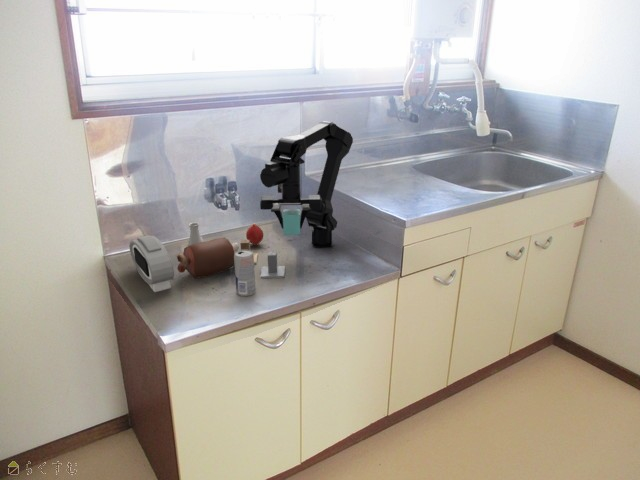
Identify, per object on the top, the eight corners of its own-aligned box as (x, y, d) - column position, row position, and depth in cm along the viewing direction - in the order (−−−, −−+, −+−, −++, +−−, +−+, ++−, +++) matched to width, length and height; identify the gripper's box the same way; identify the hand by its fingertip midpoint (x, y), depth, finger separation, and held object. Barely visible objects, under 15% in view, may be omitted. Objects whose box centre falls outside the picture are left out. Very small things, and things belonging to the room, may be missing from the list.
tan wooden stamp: (257, 255, 171) (256, 237, 168) (256, 264, 164) (255, 245, 162) (236, 255, 170) (235, 237, 168) (234, 264, 164) (232, 245, 162)
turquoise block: (300, 228, 167) (299, 209, 164) (300, 234, 162) (299, 214, 159) (283, 229, 166) (283, 209, 164) (283, 235, 162) (282, 215, 159)
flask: (202, 257, 169) (199, 228, 166) (181, 255, 171) (178, 227, 167) (211, 248, 176) (208, 221, 172) (191, 247, 177) (188, 219, 173)
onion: (244, 243, 180) (243, 221, 177) (260, 240, 182) (259, 219, 179) (249, 249, 175) (248, 227, 172) (266, 246, 177) (265, 224, 174)
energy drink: (246, 285, 151) (244, 247, 146) (259, 291, 147) (257, 252, 143) (232, 292, 147) (229, 253, 142) (245, 298, 144) (243, 258, 139)
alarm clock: (132, 267, 162) (126, 229, 157) (152, 263, 165) (146, 225, 161) (155, 297, 144) (149, 255, 139) (176, 291, 147) (171, 250, 143)
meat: (230, 259, 169) (228, 229, 165) (248, 271, 160) (247, 240, 156) (171, 275, 157) (167, 243, 153) (187, 289, 149) (184, 256, 145)
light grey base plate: (284, 267, 162) (284, 248, 159) (284, 277, 155) (283, 258, 153) (262, 268, 162) (261, 249, 159) (260, 278, 155) (259, 258, 153)
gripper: (320, 172, 166) (320, 219, 172) (261, 173, 165) (263, 220, 171) (322, 182, 155) (322, 231, 161) (259, 183, 155) (261, 232, 161)
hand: (291, 228), depth 164 cm, fingers closed on turquoise block, 5 cm apart
